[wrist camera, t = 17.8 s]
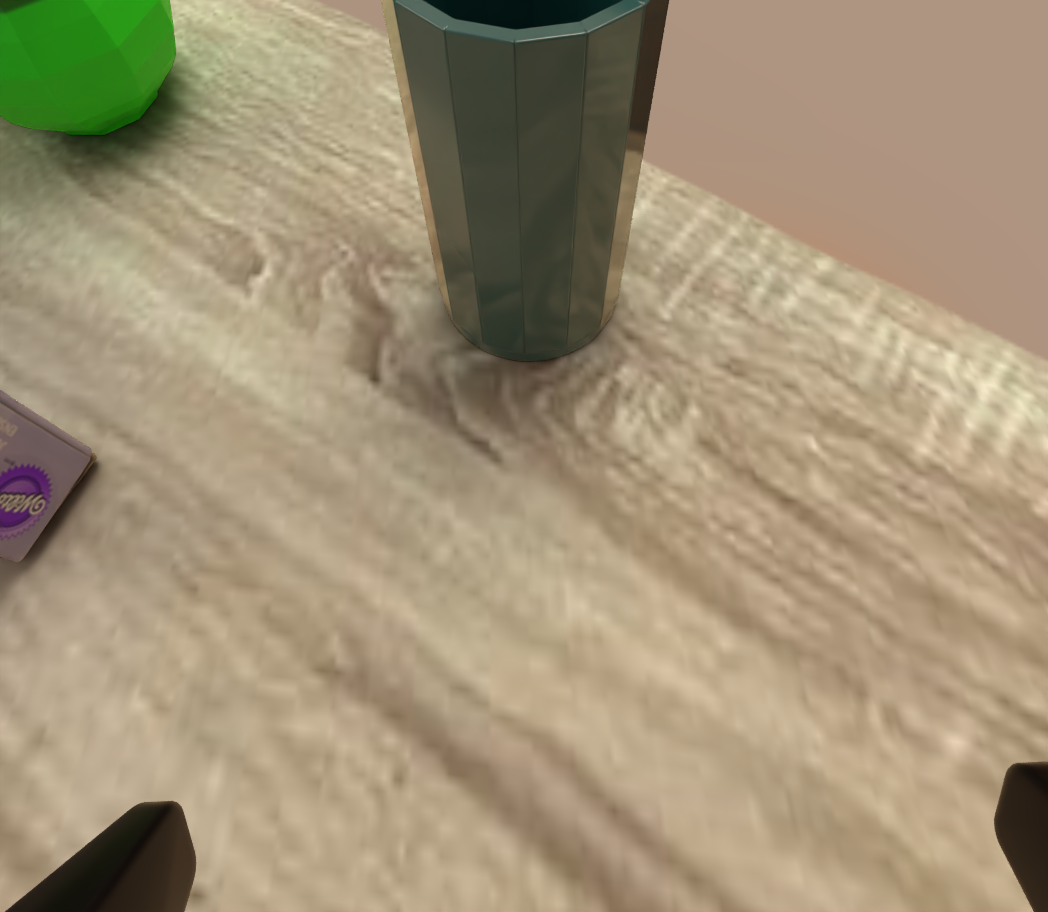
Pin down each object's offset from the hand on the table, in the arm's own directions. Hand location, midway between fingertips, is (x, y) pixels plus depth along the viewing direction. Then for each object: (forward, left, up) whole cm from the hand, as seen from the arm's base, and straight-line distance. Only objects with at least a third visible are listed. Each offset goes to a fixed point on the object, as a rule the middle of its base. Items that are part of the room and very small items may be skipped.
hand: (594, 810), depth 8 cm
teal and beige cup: (+6, +17, -14) cm, 22 cm away
